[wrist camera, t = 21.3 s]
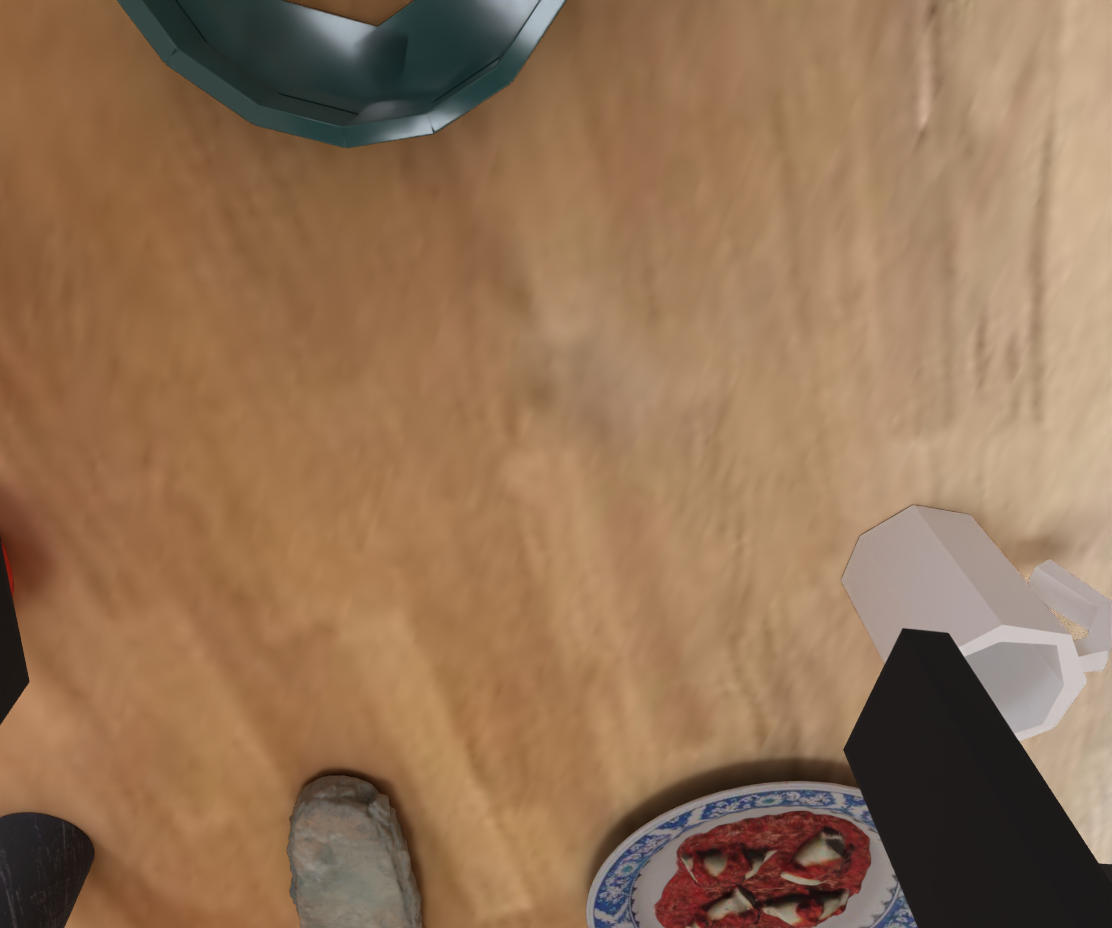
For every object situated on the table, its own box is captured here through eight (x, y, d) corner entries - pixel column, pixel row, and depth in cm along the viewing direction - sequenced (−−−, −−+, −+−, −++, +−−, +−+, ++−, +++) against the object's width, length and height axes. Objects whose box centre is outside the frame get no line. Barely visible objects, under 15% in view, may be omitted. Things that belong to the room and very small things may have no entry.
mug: (841, 633, 51) (906, 766, 42) (841, 516, 46) (913, 638, 38) (1043, 602, 50) (1151, 730, 42) (1062, 480, 46) (1187, 596, 37)
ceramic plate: (584, 764, 56) (588, 803, 53) (970, 749, 56) (992, 786, 54) (583, 981, 68) (586, 1020, 66) (896, 966, 69) (911, 1005, 67)
